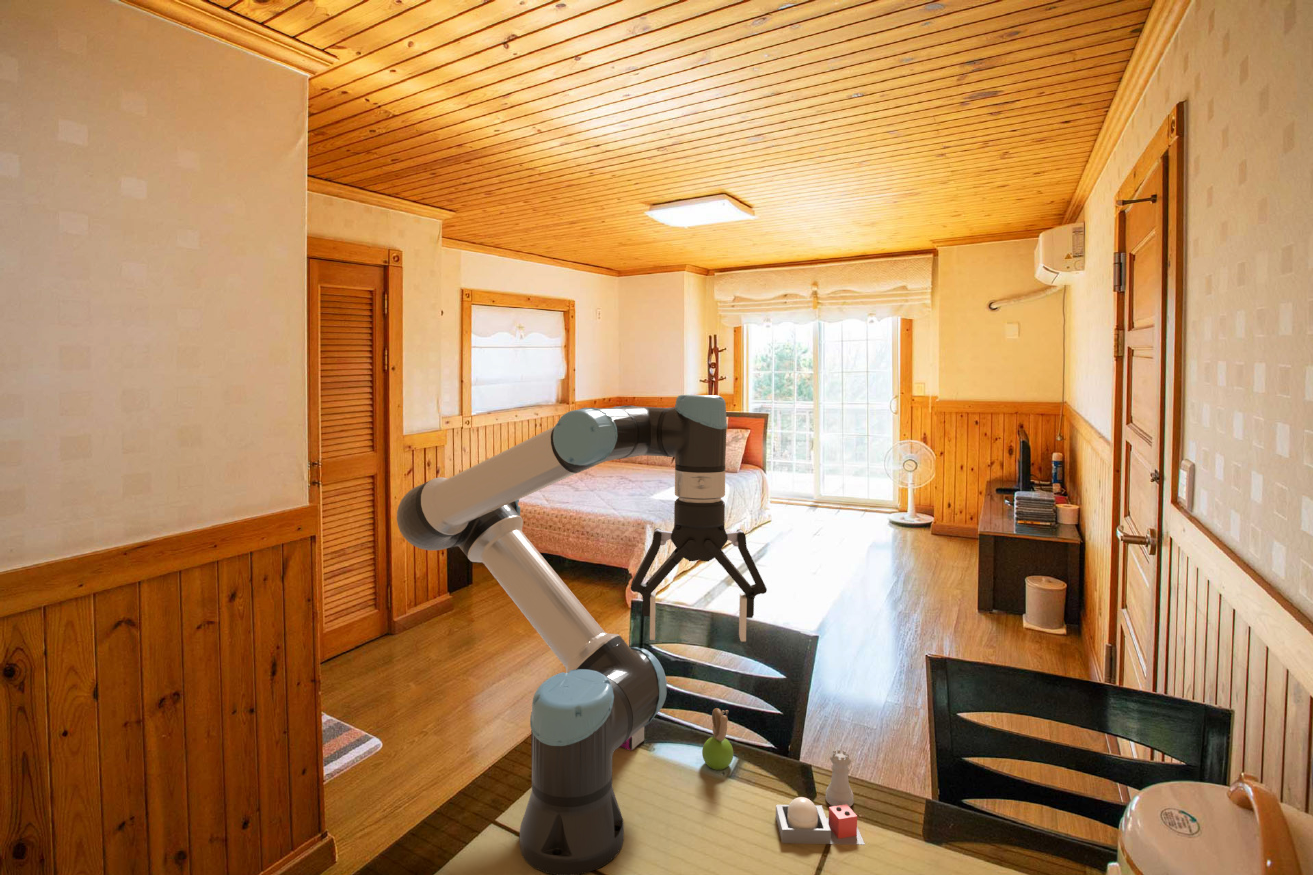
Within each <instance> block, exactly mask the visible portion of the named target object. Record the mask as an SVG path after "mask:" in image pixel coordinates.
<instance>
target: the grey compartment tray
mask: <svg viewBox="0 0 1313 875" xmlns="http://www.w3.org/2000/svg"><path fill="white" fill-rule="evenodd" d="M814 805H815V804H814ZM788 807H789V804H775V820H776V825H777V829H778V833H779V837H780V840H781V844H810V845H811V844H814V845H852V846H853V845H854V846H856V845H858V846H859V845H861V846H864V845H866V842H865V841H864V839H863V837H862V835H861V832H860V830H859V827H858V815H857V814H856V813H855V812H854V810H853V809H852V808H851V806H850V807H849V806H848V805H847V804H846V805H839V806H828V817H826V814H825V811H824V808H823V805H815V807H816V809H817V813H818V824H817V829H816V828H788V826H787V818H788Z"/></svg>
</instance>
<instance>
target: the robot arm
mask: <svg viewBox="0 0 1313 875" xmlns="http://www.w3.org/2000/svg"><path fill="white" fill-rule="evenodd" d="M726 406H727V405H726V401H725V399H724V397H722V396H720V395H717V394H715V395H713V394H711V395H710V394H707V395H706V394H703V395H702V394H700V395H699V394H681V395H678V396H677V397H676V400H675V404H674V407H657V406H656V407H655V406H636V405H621V406H614V407H613V406H612V407H582V408H579V409H573V410H569V411H568V412H566V413H564V414H562V416H561V417H559V419H558V421H557V422H556V424H555V426H552V427H550V428H548V429H546V430H544V431H542V432H541V433H540V432H539V433H538V434H536V435H535V436H532V437H530V438H528V439H526V440H524V441H522V442H519V443H518V444H516V445H514V446H512V447H510V448H508V449H506V450H503V451H502V452H500V453H498V454H496V455H494V456H492V457H489V458H487V459H485V460H483V461H481V462H479V463H477V464H474V465H473V466H471V467H469V468H467V469H465V470H463V471H461V472H459V473H457V474H455V475H453V476H451V477H449V478H447V477H443V476H442V477H441V476H440V477H435V478H432V479H430V480H429V481H428V480H427V481H426V482H424V483H422V484H420V485H417V486H415V487H413V488H411V489H410V490H409V491H407V493H406V494H404V496H403V497H402V499H401V500H400V503H399V504H398V507H397V511H396V523H397V527H398V530H399V532H400V534H401V535H402V538H404V540H406V541H407V543H409V544H411V545H412V546H414V547H416V548H418V549H421V550H425V551H441V550H445V549H450V548H455V547H459V549H460V550H461V551H462V552H463V554H464V555H465V556H466V557H467V559H468V560H469V561H470V562H472V563H482V564H483V565H484V566H485V568H487V569H488V571H489V572H490V573H491V575H492V576H493V578H494V579H495V580H496V581H497V582H498V584H499V586H501V588H502V589H503V590H504V591H505V592H506V594H507V595H508V597H509V598H510V599H511V600H512V602H513V603H514V604H515V605H516V606H517V608H518V609H519V610H520V612H521V613H522V614H523V616H524V617H525V618H526V619H527V620H528V622H529V623H530V625H531V626H532V627H533V629H534V630H535V631H536V632H537V633H538V634H539V636H540V637H541V639H542V640H543V641H544V642H545V644H546V645H547V646H548V647H549V648H550V650H551V652H553V654H554V655H555V656H556V658H557V659H558V660H559V661H560V662H561V664H562V665H563V666H564V668H565V672H563V671H562V672H560V673H557V674H554V675H552V676H550V677H549V678H547V679H546V680H545V681H543V682H542V683H541V684H540V685H539V686H538V687H537V689H536V691H535V692H534V695H533V697H532V703H531V713H530V719H529V721H530V722H529V723H530V724H529V727H530V729H531V731H530V732H531V733H530V735H531V738H530V739H531V742H530V743H531V748H530V749H531V750H530V751H531V792H530V796H529V799H528V802H527V806H526V808H525V811H524V814H523V818H522V821H521V823H520V826H519V827H520V828H519V850H520V854H521V855H522V858H523V859H524V860H525V861H526V863H528V864H529V865H530V866H531V867H533V868H535V869H536V870H539V871H540V872H541V871H542V872H544V873H547V874H551V875H581V874H586V873H590V872H594V871H595V870H598V869H600V868H602V867H604V866H605V865H607V864H609V863H610V862H611V861H613V860H614V858H616V857H617V855H618V854H619V853H620V851H621V850H622V847H623V845H624V840H625V839H624V838H625V837H624V834H625V825H624V824H625V823H624V818H623V815H622V812H621V809H620V807H619V803H618V800H617V797H616V794H615V791H614V788H613V754H614V752H615V751H616V750H618V749H619V748H620V747H619V746H621V745H622V744H623V743H624V742H626V741H627V740H628V739H629V738H630V737H631V736H633V735H634V734H635V733H636V732H637V731H639V730H640V729H641V728H642V727H644V726H645V727H647V726H648V724H650V723H651V721H652V720H653V719H654V718H655V717H656V715H657V714H659V712H660V711H661V709H662V708H663V706H664V704H665V701H666V698H667V684H668V683H667V681H668V680H667V677H666V674H665V670H664V668H663V666H662V664H661V662H660V661H659V659H658V658H657V657H656V656H655V655H654V654H653V653H652V652H650V651H649V650H648V649H645V648H640V647H639V646H638V647H636V646H631V647H630V645H629V644H628V643H627V642H626V641H625V640H624V639H623V637H622V636H621V635H620V634H618V633H608V632H606V631H605V630H604V629H603V627H601V625H600V624H599V623H598V622H597V621H596V619H595V618H594V617H593V616H592V615H591V613H590V612H589V611H588V609H586V607H585V606H584V605H583V604H582V603H581V602H580V600H579V599H578V597H576V595H575V594H574V593H573V592H572V591H571V589H570V588H569V587H568V585H567V584H566V583H565V582H564V581H563V580H562V578H561V577H560V576H559V574H558V573H557V572H556V571H555V570H554V568H553V567H552V566H551V565H550V564H549V563H548V561H547V560H546V559H545V558H544V556H543V555H542V554H541V553H540V551H539V550H538V549H537V548H536V546H534V544H533V543H532V542H531V541H530V540H529V538H528V537H527V536H526V534H525V533H524V532H523V526H524V519H523V517H522V516H521V506H520V505H519V503H520V499H522V498H525V497H527V496H529V495H532V494H533V493H536V492H539V491H541V490H542V489H544V488H547V487H550V486H551V485H553V484H556V483H558V482H560V481H564V479H567V478H570V477H571V476H574V475H576V474H579V473H581V472H583V471H586V470H589V469H591V468H593V467H595V466H598V465H600V464H603V463H605V462H609V461H614V460H621V459H627V458H628V459H629V458H634V457H635V458H636V457H641V456H643V457H644V456H649V457H650V456H651V457H667V458H674V465H675V466H674V495H675V496H676V497H677V498H676V499H675V500H674V505H673V506H674V517H673V528H672V530H671V531H667V530H661V528H660V527H656V528H655V529H654V530H653V535H652V542H651V544H650V546H649V548H648V549H647V551H646V554H645V556H644V558H642V559H643V560H642V562H641V564H640V565H639V567H638V569H637V571H636V572H635V575H634V577H633V579H632V581H631V583H630V584H631V585H630V590H631V591H632V592H633V593H638V594H640V595H641V596H642V615H643V617H649V640H650V641H655V640H656V595H657V594H656V591H655V590H656V589H657V587H658V586H659V585H660V584H661V583H662V582H663V581H664V580H665V578H666V577H667V576H668V575H669V574H670V572H671V571H673V569H674V568H675V567H676V566H677V565H679V564H680V562H682V560H684V559H685V560H687V561H688V562H697V561H701V562H710V561H712V560H714V559H715V560H716V561H717V563H718V564H719V565H720V566H722V568H723V569H724V570H725V572H727V574H728V575H729V577H731V579H732V580H733V581H734V582H735V583H736V585H737V586H738V587H739V589H741V591H742V592H743V593H742V592H740V593H739V617H738V618H739V619H738V623H739V624H738V637H739V639H740V642H747V619H748V618H749V619H753V617H754V615H755V614H754V613H755V608H754V607H755V598H756V596H758V595H761V594H762V595H763V594H766V593H767V591H768V590H767V586H766V585H765V583H764V581H763V578H762V576H761V574H760V572H759V570H758V568H757V566H756V563H755V562H754V559H753V557H752V555H751V554H750V551H749V550H748V546H747V537H746V532H744V530H743V529H741V528H740V529H737V530H736V531H731V532H730V531H729V532H726V529H725V528H726V527H725V522H726V521H725V517H726V516H725V515H726V514H725V513H726V510H725V509H726V506H725V505H726V503H725V501H724V500H723V498H724V497H725V496H726V454H727V453H726V451H727V429H728V423H727V407H726ZM670 540H671V542H672V543H673V545H674V547H675V549H673V551H672V552H671V554H670V555H669V557H667V558H666V560H664V562H663V563H662V564H661V565H660V566H659V568H658V569H657V570H656V571H655V573H653V574H652V575H651V577H650V578H649V579H648V580H647V581H646V582H645V583H644V582H643V581H644V579H645V578H646V576H647V574H648V572H649V570H650V568H651V567H652V564H653V562H654V561H655V559H656V557H657V555H658V553H659V551H660V548H661V546H664V545H666V543H667V542H668V541H670ZM728 541H730V542H731V544H732V545H733V547H737V548H738V550H739V554H740V555H741V557H742V559H743V562H744V563H745V565H746V568H747V570H748V571H749V574H750V576H751V578H752V581H753V582H754V584H750V583H749V582H748V580H747V579H746V578H745V577H744V576H743V575H742V573H741V572H740V571H739V570H738V568H737V567H736V566H735V565H734V564H733V562H732V561H731V560H730V559H729V558H728V557H727V555H726V554H725V552H723V550H722V549H723V547H724V546H725V545H726V543H727V542H728Z"/></svg>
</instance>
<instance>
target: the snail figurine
mask: <svg viewBox="0 0 1313 875" xmlns="http://www.w3.org/2000/svg"><path fill="white" fill-rule="evenodd" d="M724 714H725V715H724ZM726 714H729V710H728V709H726V710H723V709H722V710H721V709H720V708H717V707H716V708H714V709H713V710H712V714H711V720H712V733H713V736H710V737H709V738H708V739H707V740H706V741H705V742H704V743H703V747H702V748H701V749H702V751H701V752H702V753H701V754H702V759H703V761H704V763H705V764H706V765H707V767H709V768H710V769H712V770H715V771H721V770H722V771H723V770H724V769H726V768H728V767H729V766H730V765H731V764H732V761H733V758H734V749H733V746H732V743H730V742H731V741H730V740H728V739H727V732H728V731H727V730H728V721H729V719H728V715H726Z"/></svg>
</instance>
